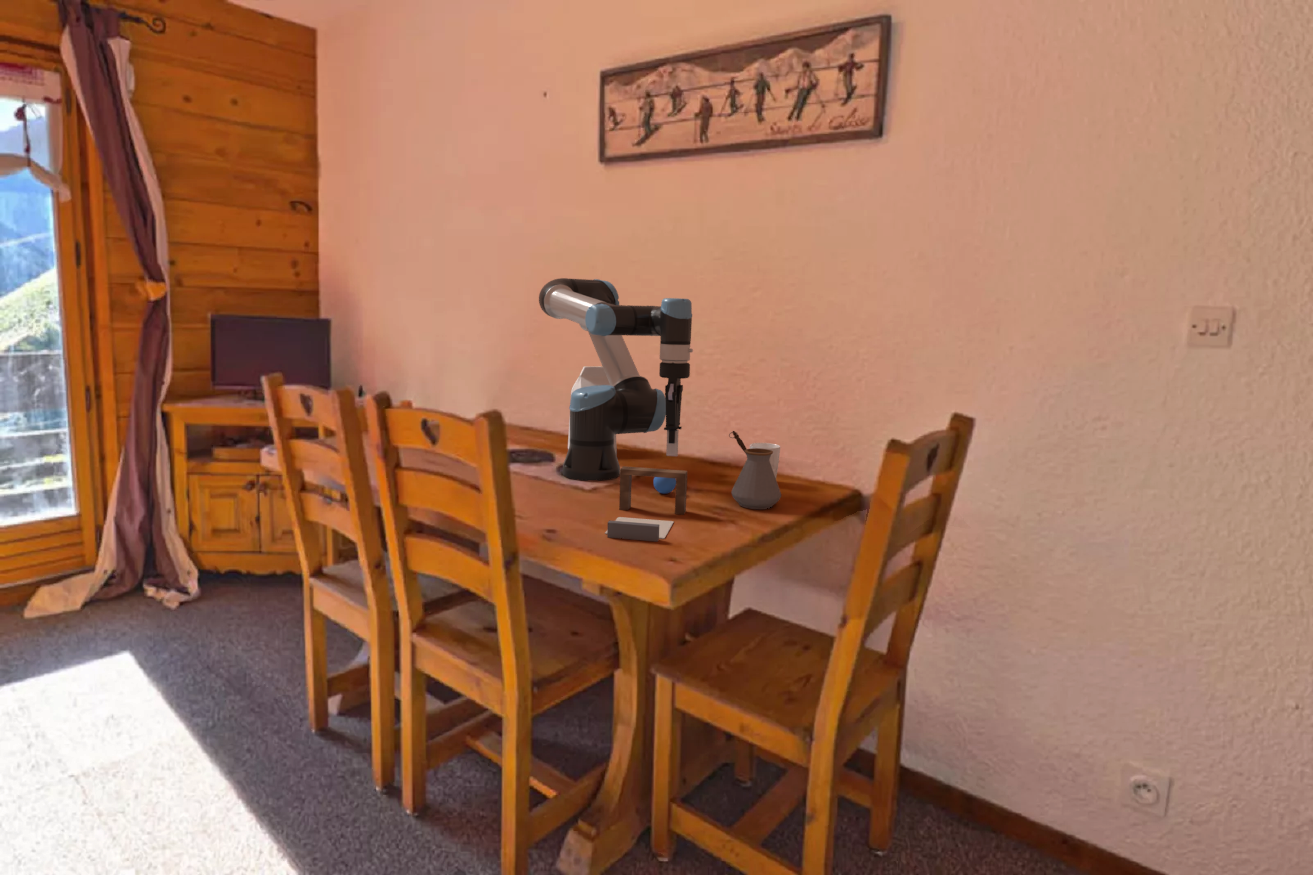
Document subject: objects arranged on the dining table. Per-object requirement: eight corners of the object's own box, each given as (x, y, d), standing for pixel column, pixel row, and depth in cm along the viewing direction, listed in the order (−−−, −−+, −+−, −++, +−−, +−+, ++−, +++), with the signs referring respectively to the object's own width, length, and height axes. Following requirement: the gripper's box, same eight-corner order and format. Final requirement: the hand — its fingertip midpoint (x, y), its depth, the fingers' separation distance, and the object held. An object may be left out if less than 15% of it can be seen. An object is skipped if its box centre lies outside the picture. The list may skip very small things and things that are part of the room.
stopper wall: (607, 537, 150) (607, 522, 150) (609, 535, 152) (609, 520, 151) (657, 541, 148) (658, 526, 148) (658, 539, 150) (659, 524, 149)
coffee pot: (789, 510, 175) (793, 445, 172) (742, 513, 171) (746, 447, 169) (750, 488, 195) (754, 429, 192) (708, 490, 191) (711, 430, 189)
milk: (578, 456, 227) (580, 368, 223) (567, 448, 238) (568, 365, 233) (616, 454, 232) (618, 368, 227) (604, 447, 242) (606, 365, 238)
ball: (651, 495, 184) (651, 472, 183) (655, 489, 189) (655, 468, 188) (673, 496, 183) (674, 474, 182) (677, 491, 188) (678, 469, 187)
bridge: (619, 509, 170) (620, 469, 169) (622, 506, 173) (623, 466, 172) (683, 514, 168) (685, 473, 166) (685, 511, 171) (687, 470, 169)
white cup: (777, 487, 196) (779, 449, 194) (746, 485, 198) (748, 447, 196) (778, 480, 204) (781, 443, 202) (749, 478, 205) (751, 441, 204)
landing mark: (604, 533, 152) (604, 532, 152) (618, 517, 164) (618, 516, 164) (664, 539, 150) (664, 538, 150) (673, 522, 162) (673, 521, 162)
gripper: (686, 363, 182) (683, 461, 186) (693, 360, 195) (690, 451, 199) (655, 362, 184) (652, 459, 188) (664, 359, 196) (661, 450, 200)
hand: (672, 455), depth 193 cm, fingers closed
